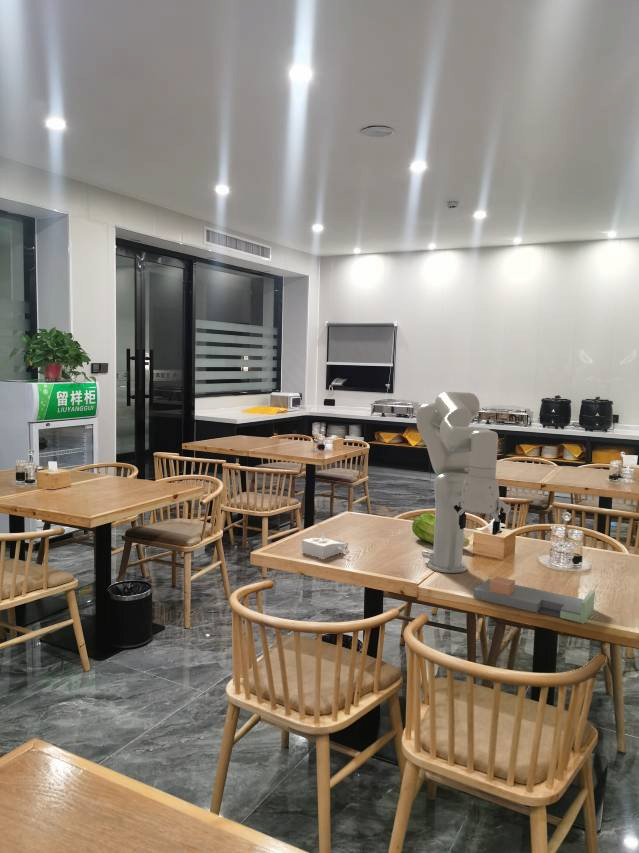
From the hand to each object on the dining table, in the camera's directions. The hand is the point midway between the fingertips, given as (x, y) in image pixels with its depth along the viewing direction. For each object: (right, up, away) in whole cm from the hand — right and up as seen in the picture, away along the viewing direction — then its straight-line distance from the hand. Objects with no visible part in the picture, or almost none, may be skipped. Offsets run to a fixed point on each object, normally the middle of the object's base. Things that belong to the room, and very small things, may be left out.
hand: (478, 531), depth 186 cm
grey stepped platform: (+14, -20, -5) cm, 25 cm away
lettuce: (-1, -14, +54) cm, 56 cm away
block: (+6, -17, -3) cm, 18 cm away
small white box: (-43, -14, +38) cm, 59 cm away
